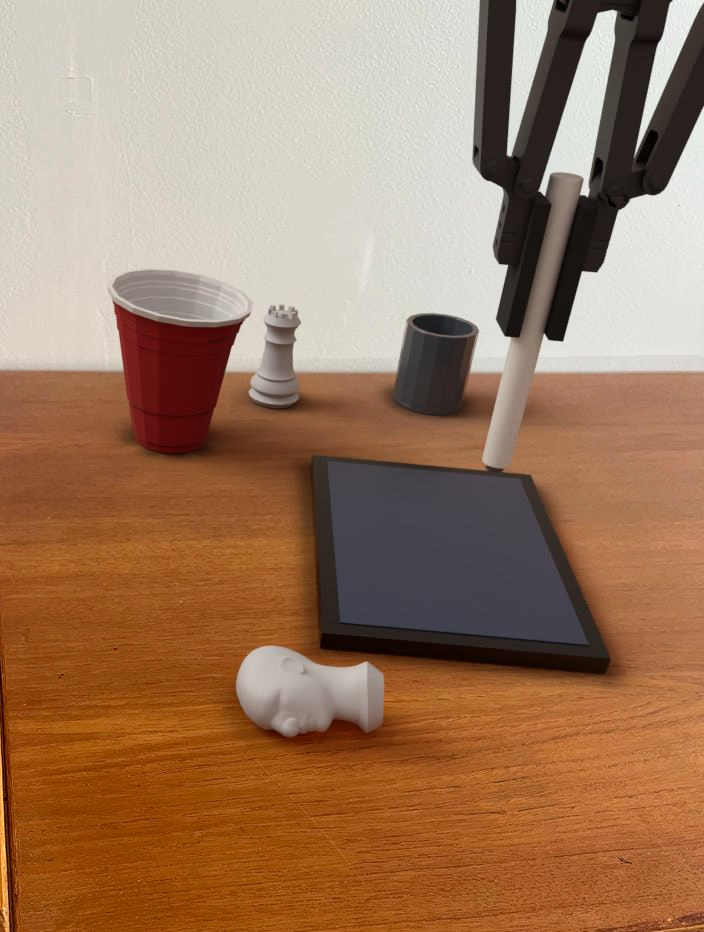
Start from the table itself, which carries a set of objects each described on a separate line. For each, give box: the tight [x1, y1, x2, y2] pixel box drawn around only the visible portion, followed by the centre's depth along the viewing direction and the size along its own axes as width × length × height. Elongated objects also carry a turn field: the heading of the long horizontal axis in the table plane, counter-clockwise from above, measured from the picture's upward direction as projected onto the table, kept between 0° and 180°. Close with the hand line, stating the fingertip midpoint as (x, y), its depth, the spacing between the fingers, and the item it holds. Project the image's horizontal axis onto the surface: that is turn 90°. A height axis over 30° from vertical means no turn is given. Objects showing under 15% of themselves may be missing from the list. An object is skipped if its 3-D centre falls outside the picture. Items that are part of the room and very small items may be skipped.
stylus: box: [481, 171, 585, 473], centre depth 54 cm, size 2×2×16 cm
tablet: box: [309, 454, 612, 675], centre depth 70 cm, size 17×24×1 cm
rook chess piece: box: [248, 303, 302, 409], centre depth 89 cm, size 4×4×8 cm
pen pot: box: [392, 312, 480, 416], centre depth 91 cm, size 6×6×7 cm
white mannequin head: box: [235, 645, 385, 738], centre depth 54 cm, size 4×8×5 cm
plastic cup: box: [106, 268, 253, 454], centre depth 79 cm, size 11×11×12 cm
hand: (528, 329), depth 54 cm, fingers closed on stylus, 2 cm apart
